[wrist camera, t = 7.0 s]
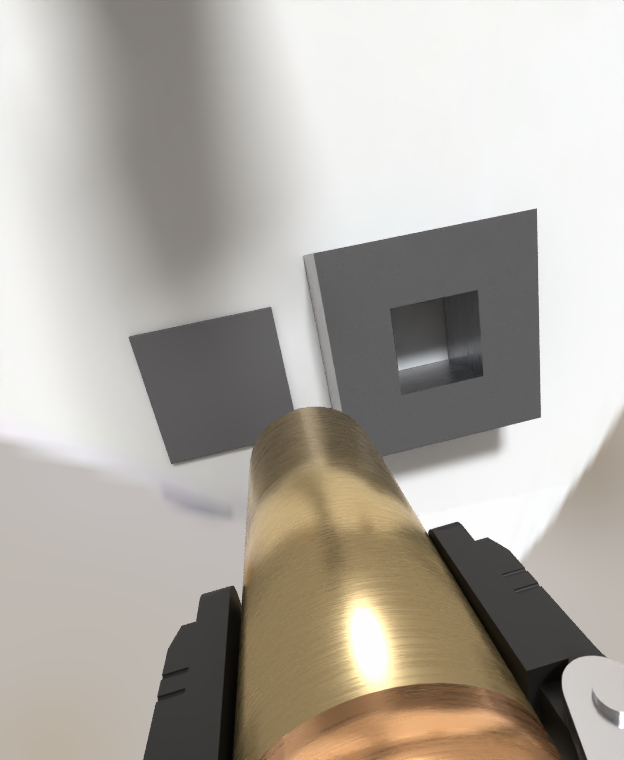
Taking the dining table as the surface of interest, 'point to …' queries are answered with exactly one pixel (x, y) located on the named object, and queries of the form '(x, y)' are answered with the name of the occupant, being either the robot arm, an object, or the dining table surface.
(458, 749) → the brass cylinder
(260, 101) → the dining table surface
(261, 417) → the mat
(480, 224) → the housing
